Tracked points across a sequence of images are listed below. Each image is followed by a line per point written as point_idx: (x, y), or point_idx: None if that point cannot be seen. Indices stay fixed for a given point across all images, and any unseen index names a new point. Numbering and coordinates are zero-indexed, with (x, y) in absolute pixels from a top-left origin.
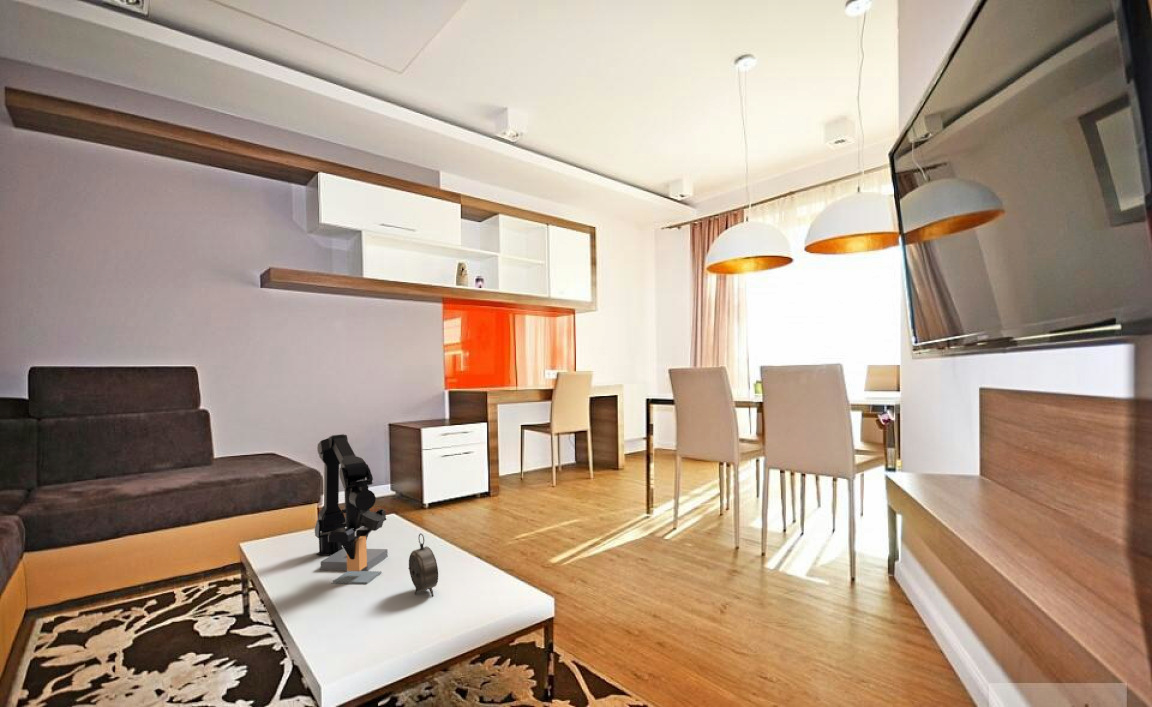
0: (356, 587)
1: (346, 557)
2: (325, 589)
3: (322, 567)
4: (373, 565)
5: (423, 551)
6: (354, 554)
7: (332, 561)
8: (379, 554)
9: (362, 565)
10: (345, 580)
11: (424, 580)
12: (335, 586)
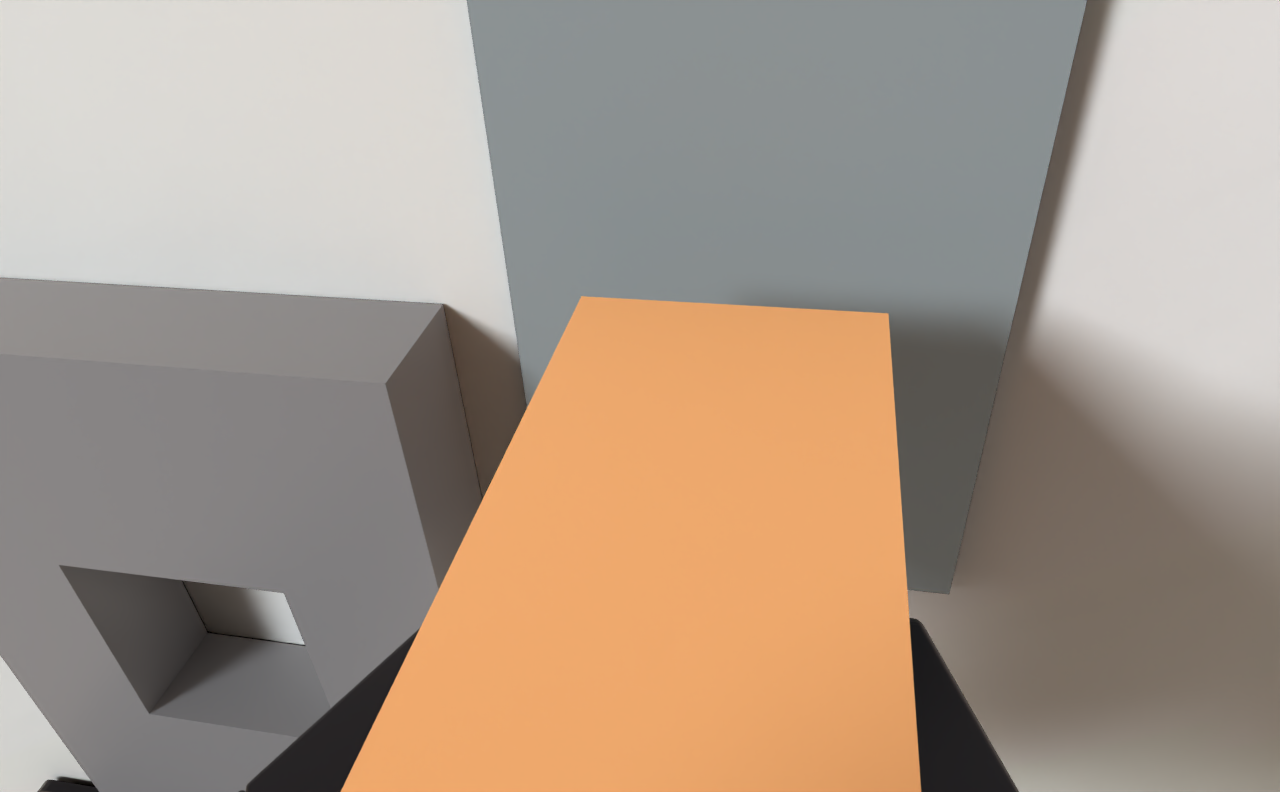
0: (1246, 105)
1: (279, 711)
2: (1198, 568)
3: None
4: (260, 303)
5: None
6: (931, 713)
7: None
8: (3, 352)
9: (748, 348)
10: (935, 439)
11: None
12: (1096, 489)
